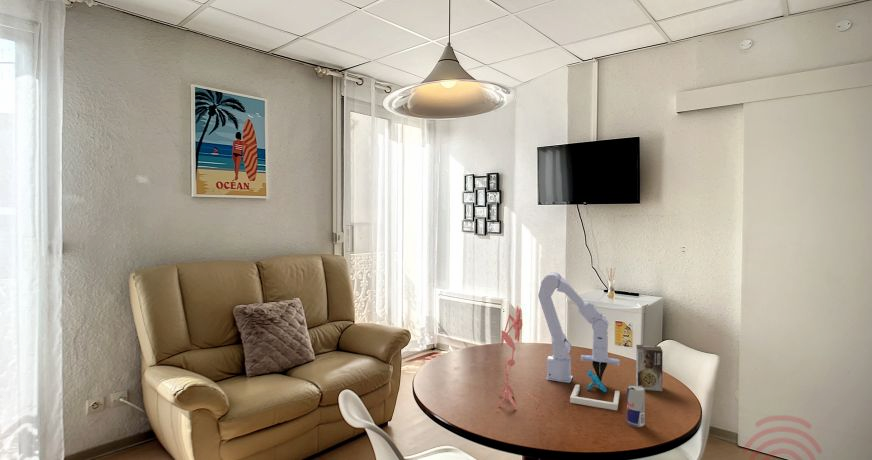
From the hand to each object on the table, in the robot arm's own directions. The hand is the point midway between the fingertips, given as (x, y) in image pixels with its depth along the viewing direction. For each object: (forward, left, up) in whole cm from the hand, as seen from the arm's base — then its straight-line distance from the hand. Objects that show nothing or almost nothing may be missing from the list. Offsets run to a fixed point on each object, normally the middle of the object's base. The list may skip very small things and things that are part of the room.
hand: (599, 380), depth 184 cm
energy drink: (+14, -32, -2) cm, 35 cm away
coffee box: (+18, +5, -2) cm, 19 cm away
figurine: (-25, -32, -2) cm, 41 cm away
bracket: (0, -17, -2) cm, 17 cm away
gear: (0, -7, -2) cm, 7 cm away
